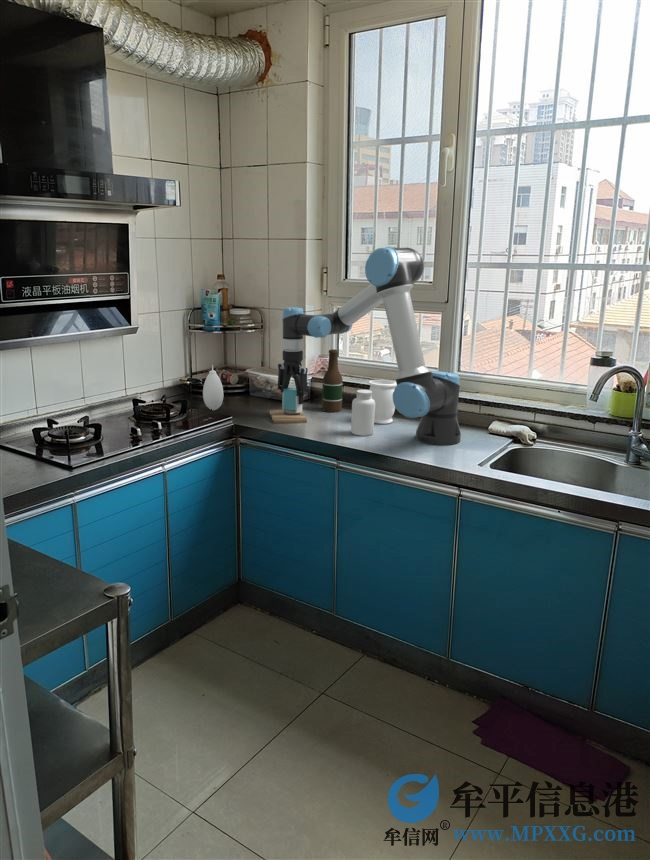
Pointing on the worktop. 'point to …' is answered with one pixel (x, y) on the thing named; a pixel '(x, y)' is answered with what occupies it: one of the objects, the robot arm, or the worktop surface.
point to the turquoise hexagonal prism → (289, 398)
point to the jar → (383, 400)
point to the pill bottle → (363, 413)
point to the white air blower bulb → (213, 391)
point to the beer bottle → (332, 385)
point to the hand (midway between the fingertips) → (292, 410)
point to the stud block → (287, 416)
